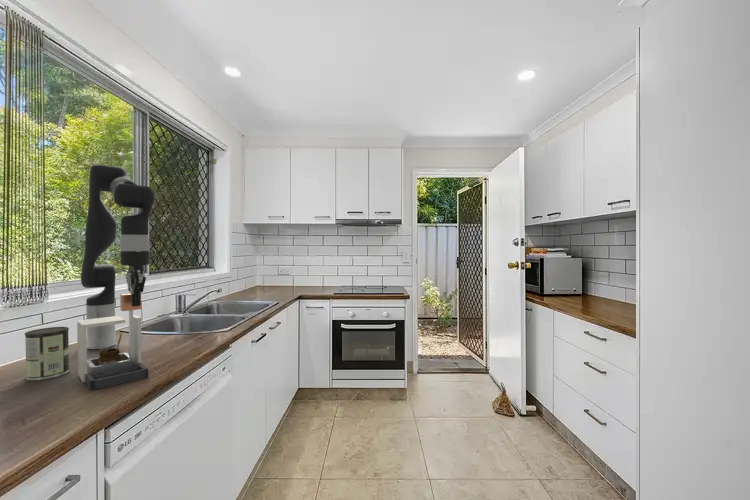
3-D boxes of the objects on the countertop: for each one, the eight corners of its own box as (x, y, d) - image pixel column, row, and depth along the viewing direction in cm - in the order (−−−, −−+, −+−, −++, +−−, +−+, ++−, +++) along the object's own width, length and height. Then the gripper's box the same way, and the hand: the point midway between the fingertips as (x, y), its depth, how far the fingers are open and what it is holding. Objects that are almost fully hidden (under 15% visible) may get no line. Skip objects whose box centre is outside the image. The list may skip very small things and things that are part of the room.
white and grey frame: (77, 374, 114) (77, 320, 113) (133, 363, 124) (133, 313, 124) (83, 382, 107) (82, 325, 106) (141, 369, 117) (141, 317, 117)
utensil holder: (101, 370, 117) (100, 333, 117) (124, 367, 119) (123, 331, 119) (95, 376, 112) (94, 338, 111) (119, 373, 114) (119, 335, 114)
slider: (85, 370, 115) (84, 294, 115) (132, 361, 125) (131, 290, 124) (92, 379, 107) (91, 297, 107) (142, 369, 116) (141, 293, 116)
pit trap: (85, 382, 107) (85, 374, 107) (140, 370, 117) (140, 362, 117) (90, 390, 100) (90, 381, 100) (148, 377, 111) (148, 369, 110)
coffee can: (49, 368, 119) (48, 326, 119) (78, 369, 118) (77, 326, 118) (15, 380, 109) (14, 333, 109) (46, 381, 108) (45, 334, 108)
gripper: (115, 249, 113) (116, 305, 113) (125, 250, 103) (126, 310, 104) (143, 249, 118) (144, 302, 118) (155, 249, 109) (156, 306, 109)
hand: (135, 305), depth 111 cm, fingers closed
